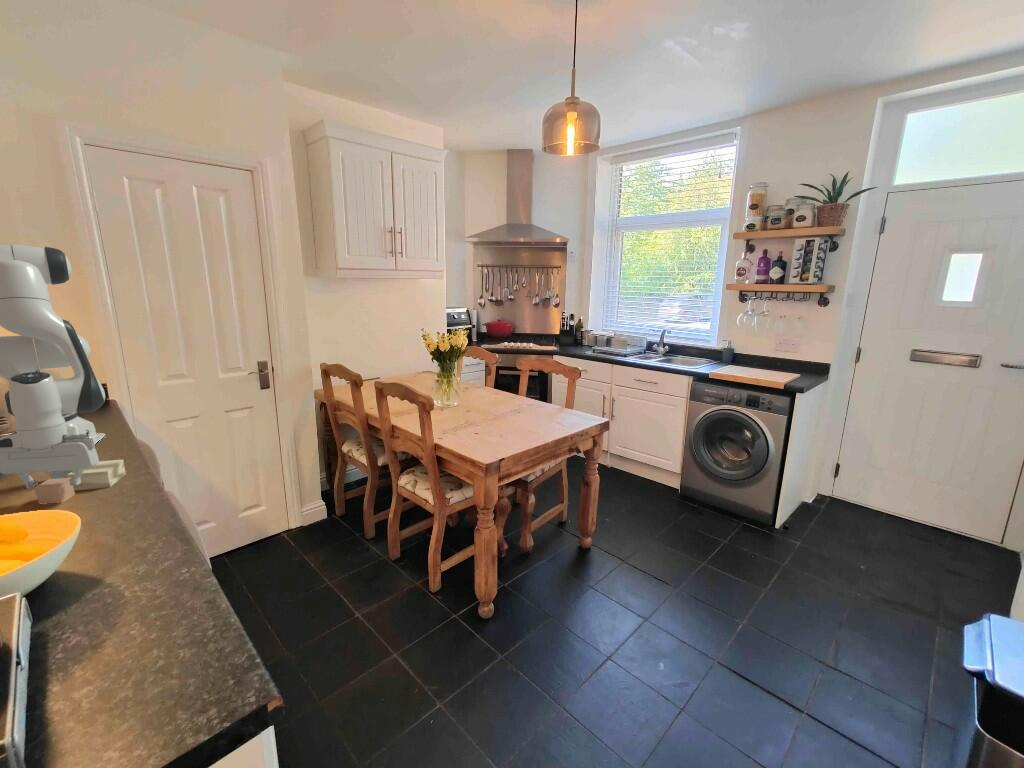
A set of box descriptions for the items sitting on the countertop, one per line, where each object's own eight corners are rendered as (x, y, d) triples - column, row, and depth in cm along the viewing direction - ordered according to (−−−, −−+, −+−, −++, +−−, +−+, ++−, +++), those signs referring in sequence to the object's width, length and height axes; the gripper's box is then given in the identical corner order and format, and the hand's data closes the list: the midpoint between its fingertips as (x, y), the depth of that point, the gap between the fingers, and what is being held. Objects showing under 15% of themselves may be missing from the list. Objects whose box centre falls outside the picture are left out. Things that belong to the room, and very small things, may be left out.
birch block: (89, 478, 133) (85, 462, 132) (125, 474, 136) (123, 459, 134) (70, 491, 124) (67, 474, 123) (110, 487, 127) (107, 471, 126)
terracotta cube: (53, 496, 121) (49, 479, 120) (75, 494, 123) (71, 477, 121) (38, 505, 117) (34, 487, 116) (61, 503, 118) (57, 485, 117)
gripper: (99, 429, 121) (108, 477, 124) (6, 434, 116) (17, 483, 119) (83, 437, 115) (93, 487, 118) (-16, 442, 110) (-3, 494, 113)
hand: (54, 485), depth 118 cm, fingers open, 8 cm apart
